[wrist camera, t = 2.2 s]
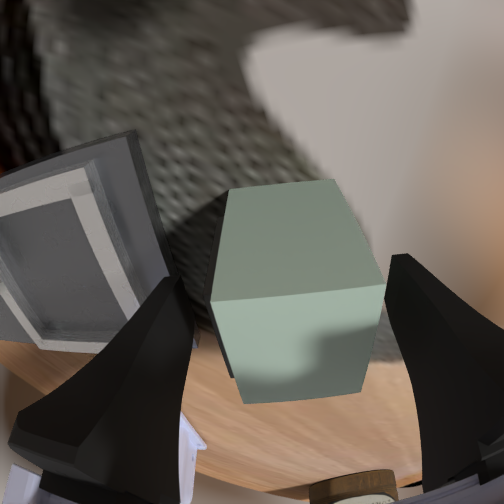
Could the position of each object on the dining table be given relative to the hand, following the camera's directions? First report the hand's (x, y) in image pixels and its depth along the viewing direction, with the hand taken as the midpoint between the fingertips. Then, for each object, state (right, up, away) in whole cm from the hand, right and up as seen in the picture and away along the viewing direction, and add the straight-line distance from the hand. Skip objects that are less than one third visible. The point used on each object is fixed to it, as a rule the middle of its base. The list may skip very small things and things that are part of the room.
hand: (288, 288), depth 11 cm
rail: (-15, 0, +4) cm, 15 cm away
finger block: (0, +2, +3) cm, 3 cm away
